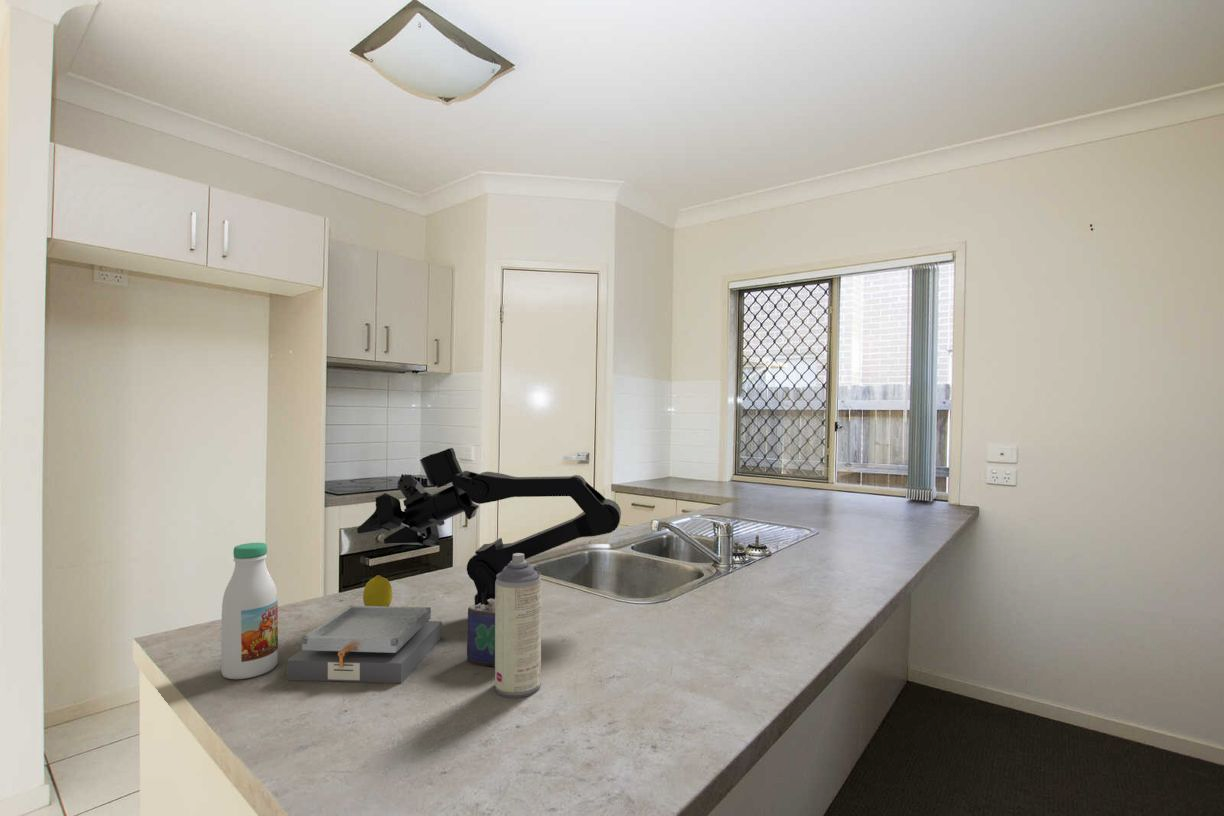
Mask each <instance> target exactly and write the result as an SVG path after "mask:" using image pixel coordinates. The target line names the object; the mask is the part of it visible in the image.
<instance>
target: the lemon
mask: <svg viewBox="0 0 1224 816" xmlns="http://www.w3.org/2000/svg"><path fill="white" fill-rule="evenodd" d="M392 600H393V589H392V585H391V582H390V580H388V578H385V577H383V576H381V575H379V574H378V575H375V577H373V578H372V577H371V578H370V579H369V581H367V583H366V584H365V586H364V588H363V594H362V601H363V606H387V607H390V605H391V603H392Z"/></svg>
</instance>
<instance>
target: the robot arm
mask: <svg viewBox="0 0 1224 816" xmlns="http://www.w3.org/2000/svg"><path fill="white" fill-rule="evenodd" d="M419 462H420V465H421V466H422V469H423V471H424V473H425V475H426V478H427V480H428V482H429V483H428V484H430V486H433V487H437V489H439V488H442V487H444V486H447V485H449V484H451V483H452V484H451V485H450V486H448V487H446V488H444V489H441V490H439V491H437V492H435V493H433V494H431V493H429V492H428V491H427V490H426V489H425V487H424V486H423V485H422V483H421V482H420V481H418V480H417V479H415V478H416V477H415V476H413V475H412V474H406V475H404V476H401V477H400V478H399V479H398V481H397V485H396V487H397V489H398V490H399V491H400V492H401V493H402V494H403V496H404V498H405V499H403V500H402V501H403V506H404V507H405V508H404V509H403V510H404V511H403V510H402V505H401V501H400V500H401V499H398V498H396V497H395V496H393V495H390V494H388V493H387V492H383V493H382V494H379V495H377V496H375V510H374V512H373V513H372V514H371V515H370V516H369V517H368V518H367V519H366V520H365V521H364V522H362V523H361V525H359V526H358V527H357V529H356V531H357V534H359V535H365V534H375V533H385V532H390V531H391V530H393V529H397V528H399V527H401V526H402V525H403V526H404V527H402V528H399V529H398V530H397V531H395V532H393V533H391V534H389V535H388V536H386V537H385V538H383V543H384V544H385V545H417V546H418V545H419V546H425V545H426V546H431V545H434V544H436V543H437V542H438V540H439V538H440V534H439V528H438V526H441V527H442V526H444V525H446V523H445V520H448V519H450V518H453V517H455V516H457V515H460V514H462V513H464V514H465V516H466V517H465V518H466V519H467V520H471V519H473V518H474V517H476V514H477V511H478V509H479V508H480V505H481V504H487V503H492V502H498V501H502V500H506V499H510V498H525V497H526V498H529V497H531V498H533V497H534V498H535V497H536V498H537V497H542V498H543V497H570V498H571V499H573V502H575V503H576V505H577V506H578V507H579V508H580V510H581V513H580V514H578V515H577V516H575V517H574V518H570V519H568V520H566V521H564V522H563V521H562V522H561V523H559V524H556V525H554V526H551V527H549V528H546V529H544V530H542V531H539V532H537V533H533V534H531V535H528V536H526V537H524V538H522V539H519V540H516V541H514V542H511V543H510V542H509V543H503V540H502V539H503V538H502V537H500V538H498V539H496V540H495V541H493V542H490V543H484V544H482V545H481V546H480V547H479V548H478V549H477V550H475V552H474V553H475V554H474V555H473V556H471V558H469V560H468V562H467V564H466V573H467V575H468V577H469V578H470V579H471V581H473V583H474V586H475V588H476V591H477V592H476V594H475V595H474V605H478V604H479V603H481V605H482V604H484V605H485V606H486V605H488V604H489V602H488V601H487V600H488V599H494V598H495V581H496V579H497V577H496V575H497V574H498V573H500V572H502V570H503V569H504V567H506V566H508V564H509V563H510V562H511V561H512V558H513V554H515V553H523V554H524V560H525V561H526V560H527V559H530V558H532V557H534V556H537V555H540V554H543V553H544V552H547V551H550V550H552V549H555V548H557V547H559V546H563V545H565V544H568V543H570V542H572V541H575V540H577V539H580V538H589V537H591V538H593V537H597V536H603V535H607V534H611V533H612V532H614V531H615V530H617V528H618V527H619V524H620V521H621V515H622V510H621V507H620V505H619V504H618V503H617V502H616V501H614V500H612V499H610V498H606V497H605V496H604V495H602V494H601V492H599V491H598V490H597V489H596V488H594V487H593V486H592V485H590V483H588V482H587V481H586V479H585V478H584V477H583V476H581V475H578V474H573V475H570V476H569V475H568V476H566V475H565V476H561V475H560V476H522V477H521V476H512V475H508V474H504V473H498V472H493V471H483V472H481V473H477V472H474V471H473V472H472V471H469V470H464V471H463V470H462V468H461V466H460V463H459V461H458V458H457V455H456V451H455V450H454V448H453V447H450V448H447V449H444V450H442V451H439V452H436V453H431V454H429V455H427V456H425V457H422V458H421V459H419ZM478 504H479V505H478Z"/></svg>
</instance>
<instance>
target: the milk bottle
mask: <svg viewBox="0 0 1224 816" xmlns="http://www.w3.org/2000/svg"><path fill="white" fill-rule="evenodd" d="M232 555H233V562H235V563H234V569H233V572H232V575H231V577H230V580H229V581H228V583H227V585H226V588H225V590H224V593H223V596H222V603H221V627H220V628H221V631H220V633H221V635H220V636H221V639H220V640H221V641H220V642H221V646H220V647H221V649H220V651H221V653H220V654H221V656H220V657H221V659H220V661H221V662H220V663H221V665H220V666H221V668H220V669H221V671H220V672H221V674H222V676H223V678H225V679H230V680H244V679H250V678H254V677H258V676H261V675H264V674H266V673H269V672H271V671H273V670H274V668H275V667H276V666H277V664H278V657H279V654H278V653H279V652H278V651H279V650H278V649H279V646H278V645H279V641H278V640H279V639H278V638H279V635H278V633H279V631H278V630H279V629H278V628H279V626H278V625H279V614H278V613H279V612H278V611H279V610H278V609H279V608H278V607H279V606H278V605H279V604H278V603H279V602H278V592H277V591H278V590H277V586H276V585H275V584H276V583H275V581H274V580H273V578H272V576H271V574H270V573H269V569H268V567H267V564H266V559H267V557H268V556H267V555H268V545H267V544H266V543H265V542H249V543H248V542H247V543H242V544H239V545H236V546H234V547H233V554H232Z"/></svg>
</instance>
